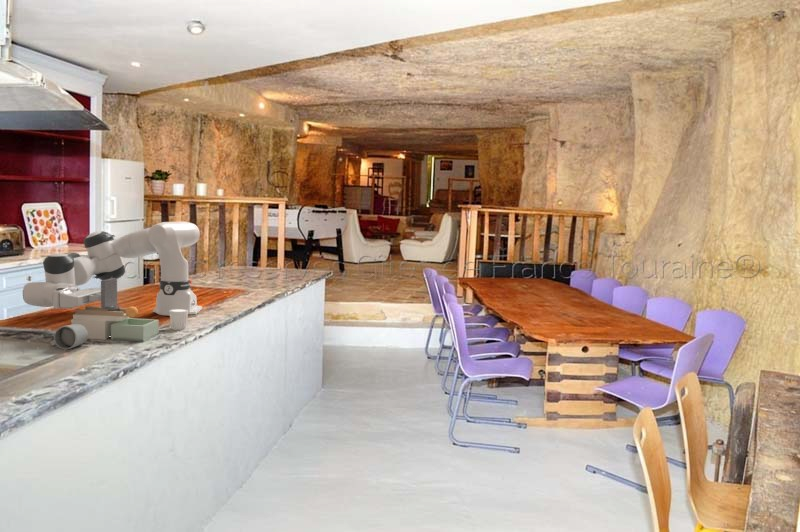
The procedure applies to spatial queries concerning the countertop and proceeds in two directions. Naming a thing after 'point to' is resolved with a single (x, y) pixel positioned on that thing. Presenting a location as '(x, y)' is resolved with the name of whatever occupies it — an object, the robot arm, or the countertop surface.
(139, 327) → the sage green tray
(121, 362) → the countertop surface
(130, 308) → the ball
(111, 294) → the gray upright panel
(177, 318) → the white tapered cup
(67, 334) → the grey tipped cup
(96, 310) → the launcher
